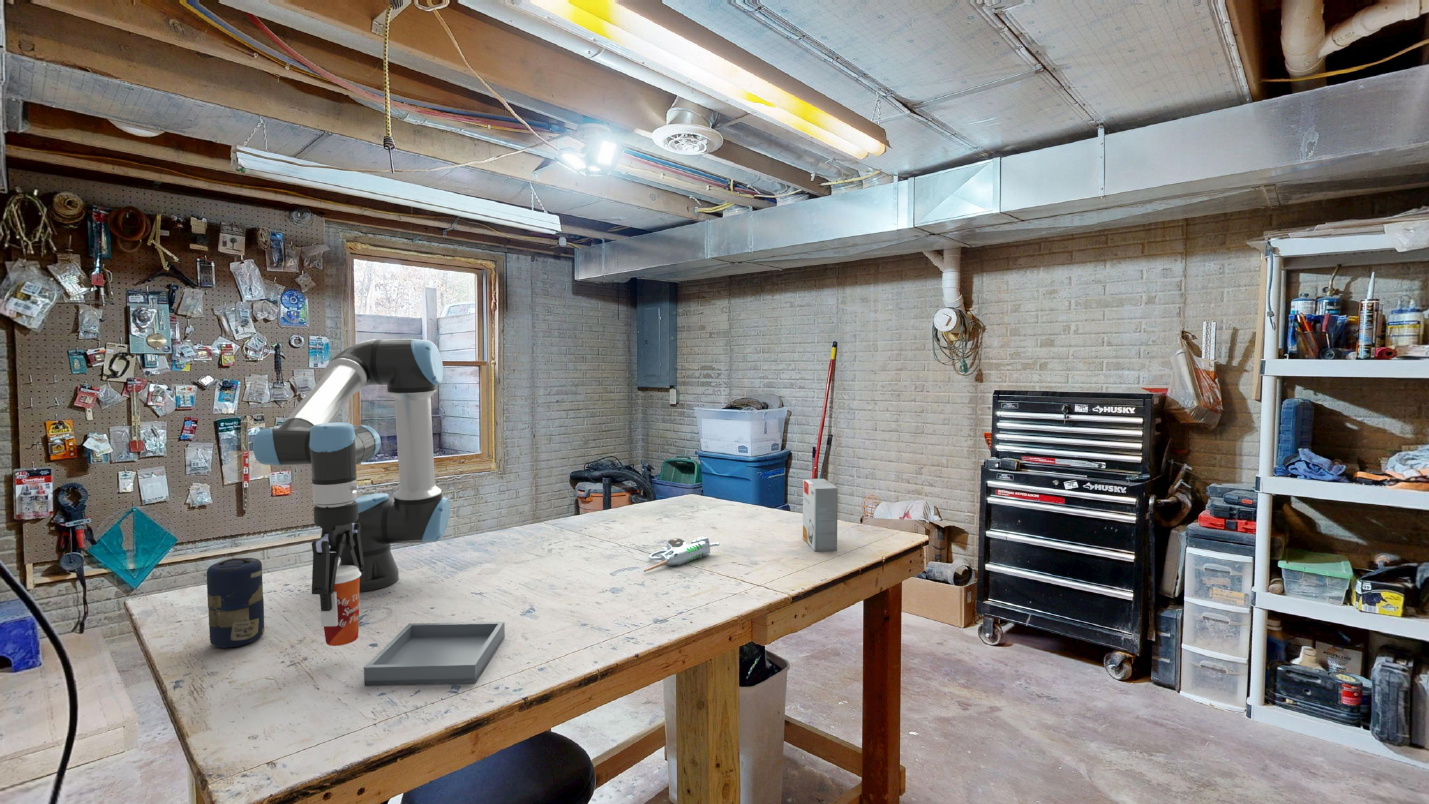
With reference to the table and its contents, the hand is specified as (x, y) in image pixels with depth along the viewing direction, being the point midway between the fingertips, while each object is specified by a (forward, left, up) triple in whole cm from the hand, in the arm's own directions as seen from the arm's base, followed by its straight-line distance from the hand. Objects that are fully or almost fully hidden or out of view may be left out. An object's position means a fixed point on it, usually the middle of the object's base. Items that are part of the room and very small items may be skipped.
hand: (341, 616), depth 130 cm
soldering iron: (-63, +63, -10) cm, 90 cm away
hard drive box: (-77, +111, -9) cm, 135 cm away
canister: (-11, -27, -9) cm, 30 cm away
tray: (0, +19, -9) cm, 21 cm away
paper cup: (0, 0, -5) cm, 5 cm away
